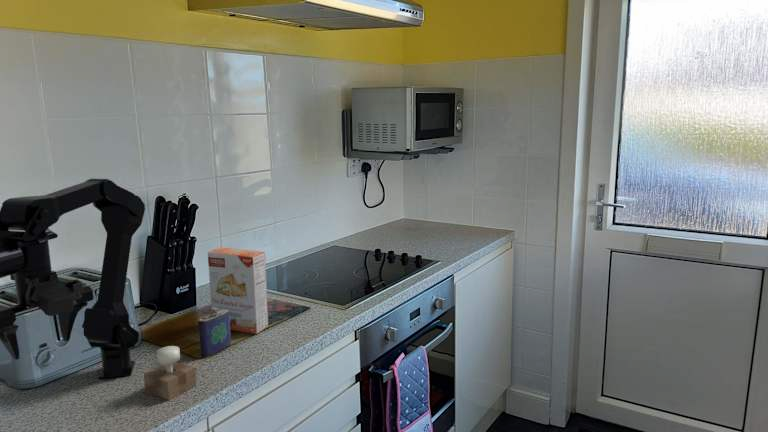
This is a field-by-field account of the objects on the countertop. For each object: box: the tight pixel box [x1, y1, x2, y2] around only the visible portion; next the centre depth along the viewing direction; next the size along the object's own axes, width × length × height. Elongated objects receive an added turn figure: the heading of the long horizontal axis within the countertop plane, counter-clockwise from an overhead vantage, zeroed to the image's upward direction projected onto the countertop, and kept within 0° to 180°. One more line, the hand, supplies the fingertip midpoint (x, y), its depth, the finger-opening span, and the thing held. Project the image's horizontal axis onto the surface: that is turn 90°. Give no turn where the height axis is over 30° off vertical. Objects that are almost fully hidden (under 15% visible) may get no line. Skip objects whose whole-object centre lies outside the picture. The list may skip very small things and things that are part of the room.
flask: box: [197, 307, 232, 359], centre depth 132 cm, size 9×3×11 cm, turn 152°
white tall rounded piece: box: [156, 345, 181, 374], centre depth 114 cm, size 4×4×8 cm
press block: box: [143, 361, 197, 401], centre depth 114 cm, size 7×7×4 cm
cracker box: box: [207, 247, 269, 335], centre depth 145 cm, size 14×6×21 cm, turn 68°
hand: (42, 349), depth 103 cm, fingers open, 9 cm apart
